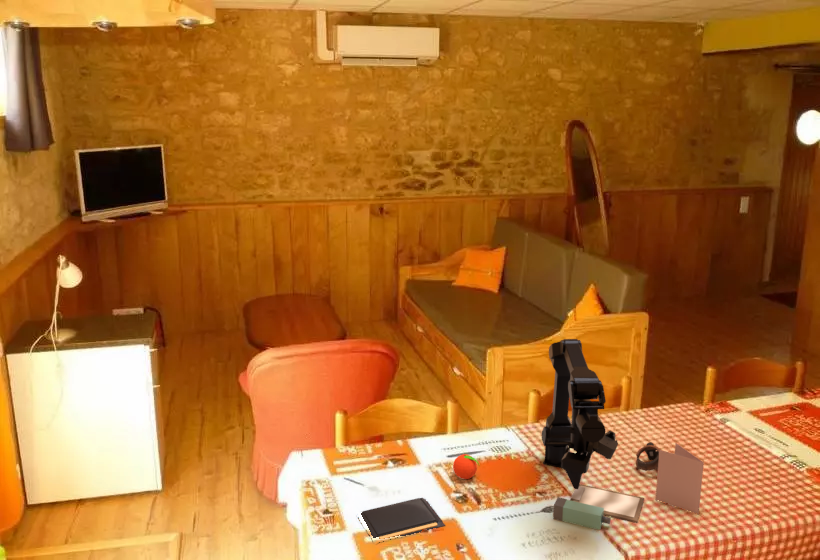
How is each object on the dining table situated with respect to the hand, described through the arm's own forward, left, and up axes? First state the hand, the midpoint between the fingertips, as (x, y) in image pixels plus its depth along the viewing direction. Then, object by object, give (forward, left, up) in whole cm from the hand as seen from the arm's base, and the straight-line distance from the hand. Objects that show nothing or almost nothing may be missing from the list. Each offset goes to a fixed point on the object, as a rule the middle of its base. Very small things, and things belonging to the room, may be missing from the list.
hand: (580, 480), depth 182 cm
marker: (0, 0, -12) cm, 12 cm away
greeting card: (+22, +18, -12) cm, 31 cm away
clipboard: (+5, +11, -12) cm, 17 cm away
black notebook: (-42, -19, -12) cm, 48 cm away
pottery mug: (+14, +36, -12) cm, 40 cm away
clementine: (-34, +8, -12) cm, 37 cm away
